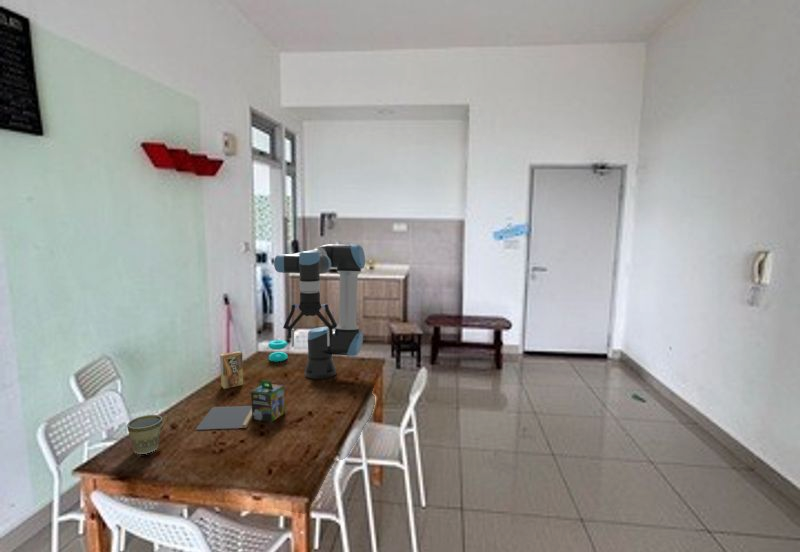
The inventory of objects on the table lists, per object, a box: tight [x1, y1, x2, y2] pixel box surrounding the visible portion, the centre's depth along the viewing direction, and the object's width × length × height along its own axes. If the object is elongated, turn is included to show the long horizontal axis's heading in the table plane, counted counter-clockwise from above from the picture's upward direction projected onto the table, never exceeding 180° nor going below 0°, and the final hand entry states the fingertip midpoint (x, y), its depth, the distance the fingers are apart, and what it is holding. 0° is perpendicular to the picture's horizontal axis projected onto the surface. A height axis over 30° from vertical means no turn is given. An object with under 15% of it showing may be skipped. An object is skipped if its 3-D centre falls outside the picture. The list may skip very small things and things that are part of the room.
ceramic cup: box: [126, 414, 170, 455], centre depth 149 cm, size 13×10×10 cm
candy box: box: [219, 350, 244, 390], centre depth 206 cm, size 9×4×15 cm, turn 129°
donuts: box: [267, 339, 289, 363], centre depth 246 cm, size 10×10×10 cm
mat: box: [195, 405, 253, 431], centre depth 173 cm, size 18×20×2 cm
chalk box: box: [250, 379, 286, 424], centre depth 174 cm, size 9×9×15 cm
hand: (310, 345), depth 175 cm, fingers open, 13 cm apart
